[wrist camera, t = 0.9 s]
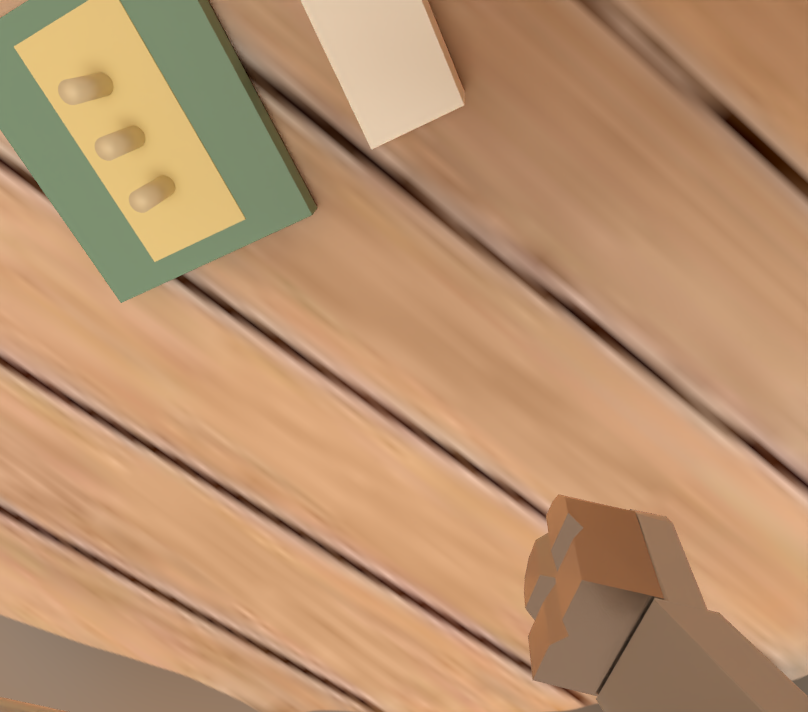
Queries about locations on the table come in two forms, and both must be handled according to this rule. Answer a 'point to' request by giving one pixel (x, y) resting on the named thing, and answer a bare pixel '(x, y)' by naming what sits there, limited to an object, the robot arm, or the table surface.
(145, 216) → the header board
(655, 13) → the table surface
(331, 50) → the housing
